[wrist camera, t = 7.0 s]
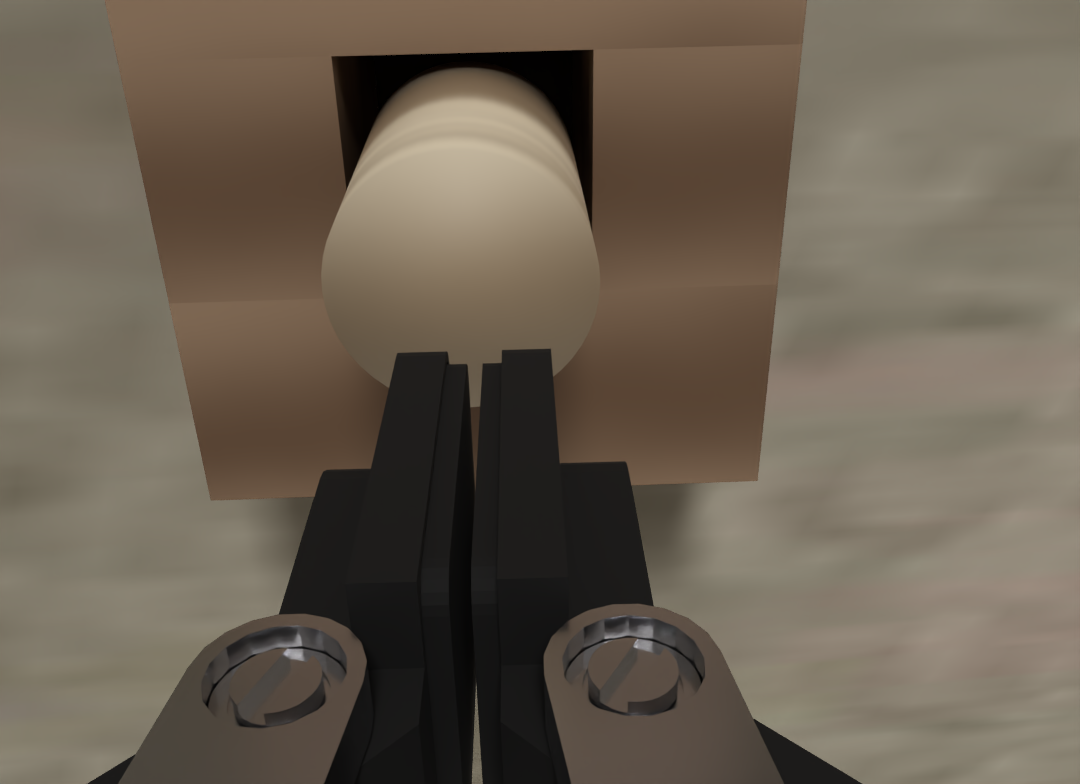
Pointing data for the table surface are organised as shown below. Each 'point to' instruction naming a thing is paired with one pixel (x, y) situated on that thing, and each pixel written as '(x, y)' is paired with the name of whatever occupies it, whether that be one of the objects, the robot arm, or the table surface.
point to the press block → (608, 188)
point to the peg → (462, 228)
